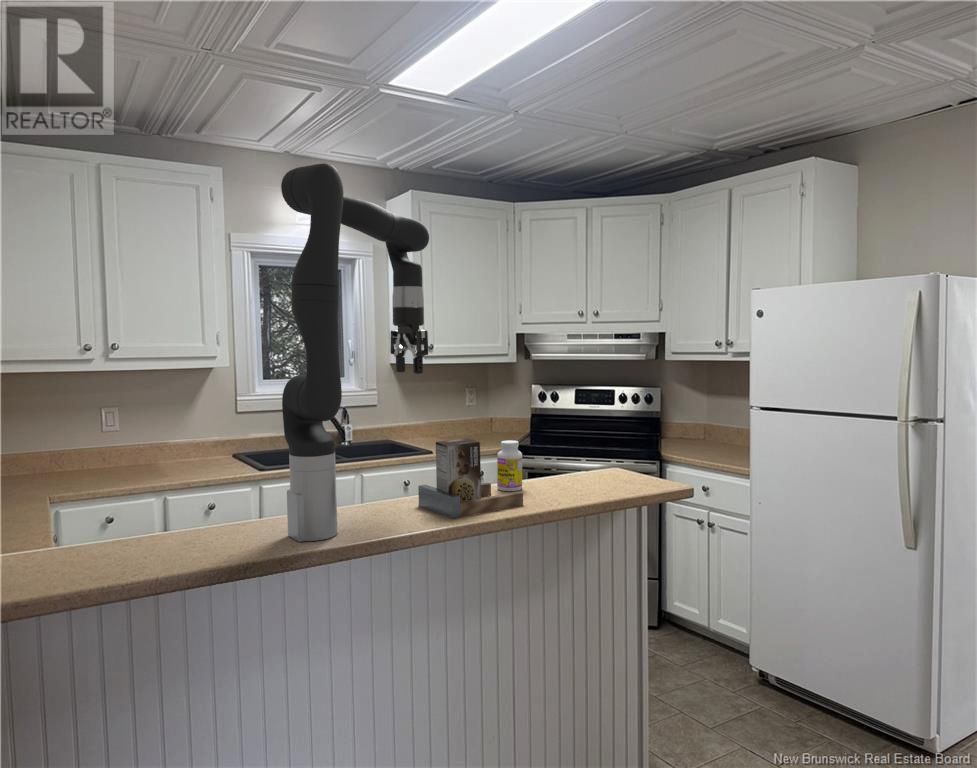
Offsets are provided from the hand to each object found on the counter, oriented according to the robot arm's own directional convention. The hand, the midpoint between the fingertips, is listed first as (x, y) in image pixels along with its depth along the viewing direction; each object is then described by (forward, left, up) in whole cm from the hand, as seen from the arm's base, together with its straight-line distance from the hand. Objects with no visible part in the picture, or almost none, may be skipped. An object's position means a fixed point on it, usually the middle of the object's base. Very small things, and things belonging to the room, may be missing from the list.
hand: (409, 372), depth 167 cm
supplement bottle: (+28, -4, -32) cm, 43 cm away
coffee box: (+6, -12, -32) cm, 35 cm away
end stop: (+1, -12, -32) cm, 34 cm away
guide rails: (+11, -12, -32) cm, 36 cm away
